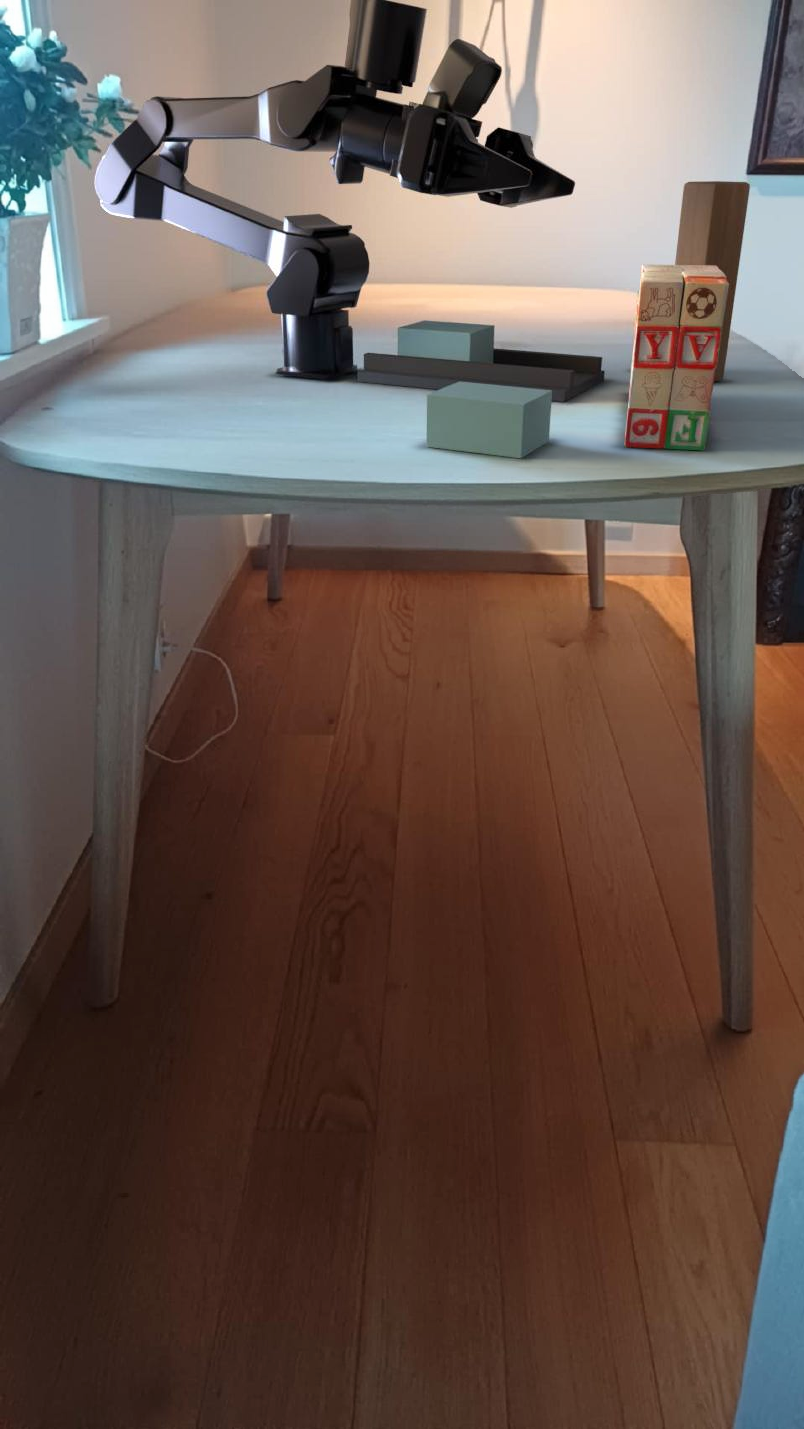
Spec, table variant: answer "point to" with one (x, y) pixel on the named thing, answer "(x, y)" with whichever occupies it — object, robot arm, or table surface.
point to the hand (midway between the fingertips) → (552, 183)
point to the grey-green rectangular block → (488, 419)
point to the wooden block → (714, 238)
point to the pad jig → (476, 362)
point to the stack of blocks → (675, 355)
